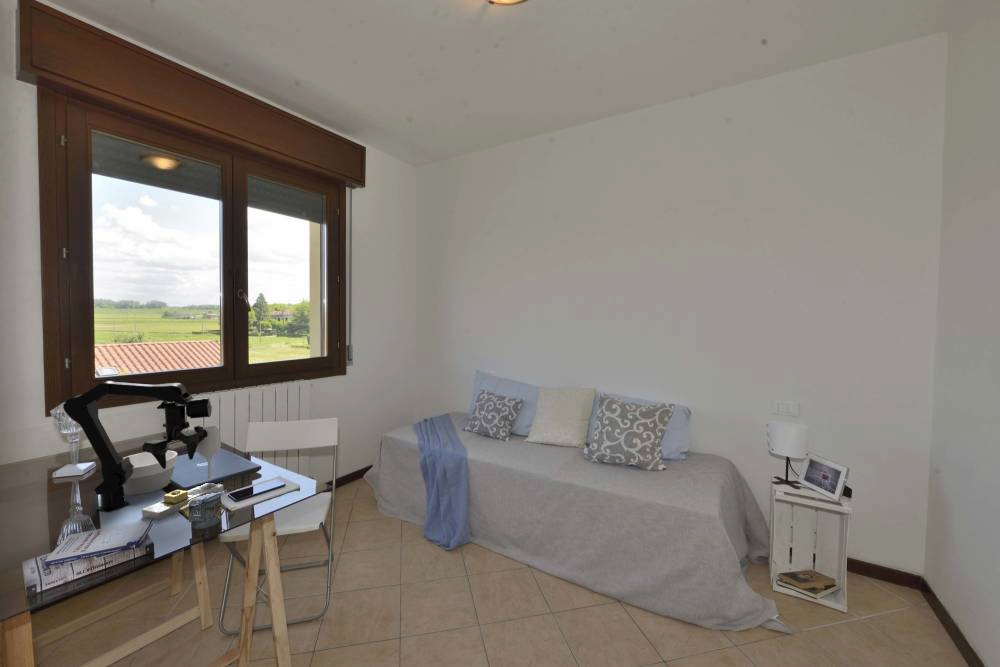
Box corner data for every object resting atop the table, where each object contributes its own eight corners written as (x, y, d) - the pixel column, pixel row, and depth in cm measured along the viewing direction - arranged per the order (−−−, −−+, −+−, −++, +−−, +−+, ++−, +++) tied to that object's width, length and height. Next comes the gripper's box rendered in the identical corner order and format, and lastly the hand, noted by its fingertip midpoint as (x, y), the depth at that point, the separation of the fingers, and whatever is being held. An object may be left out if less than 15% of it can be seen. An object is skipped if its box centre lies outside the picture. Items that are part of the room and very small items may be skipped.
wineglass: (229, 479, 167) (226, 425, 166) (208, 488, 159) (205, 432, 157) (211, 476, 169) (209, 424, 168) (190, 485, 161) (187, 430, 160)
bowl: (105, 489, 158) (103, 460, 158) (168, 473, 174) (167, 447, 173) (120, 503, 147) (119, 472, 146) (186, 484, 162) (185, 456, 162)
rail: (142, 517, 137) (142, 509, 137) (208, 489, 158) (207, 482, 158) (159, 520, 135) (158, 512, 134) (223, 491, 155) (223, 484, 155)
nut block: (164, 509, 142) (163, 494, 141) (178, 504, 146) (177, 489, 146) (174, 511, 140) (173, 496, 140) (188, 505, 145) (187, 490, 144)
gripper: (164, 428, 138) (166, 476, 139) (217, 415, 156) (219, 457, 157) (139, 426, 142) (142, 472, 142) (195, 413, 159) (197, 454, 160)
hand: (177, 463), depth 150 cm, fingers open, 9 cm apart
